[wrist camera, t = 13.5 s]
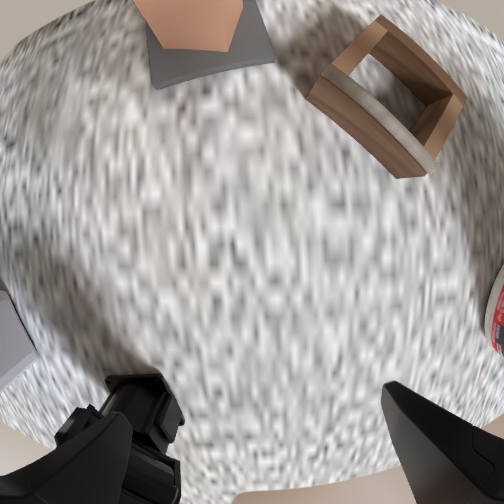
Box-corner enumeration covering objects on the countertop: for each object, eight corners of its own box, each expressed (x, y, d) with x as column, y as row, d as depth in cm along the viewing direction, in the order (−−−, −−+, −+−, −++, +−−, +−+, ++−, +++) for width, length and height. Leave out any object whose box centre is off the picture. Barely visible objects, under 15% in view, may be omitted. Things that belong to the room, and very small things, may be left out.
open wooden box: (396, 178, 18) (433, 175, 13) (305, 99, 17) (321, 70, 12) (439, 108, 17) (474, 94, 12) (363, 37, 16) (386, 8, 11)
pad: (156, 90, 17) (152, 85, 16) (148, 14, 15) (144, 9, 14) (274, 62, 16) (275, 56, 15) (248, -10, 15) (248, -17, 14)
